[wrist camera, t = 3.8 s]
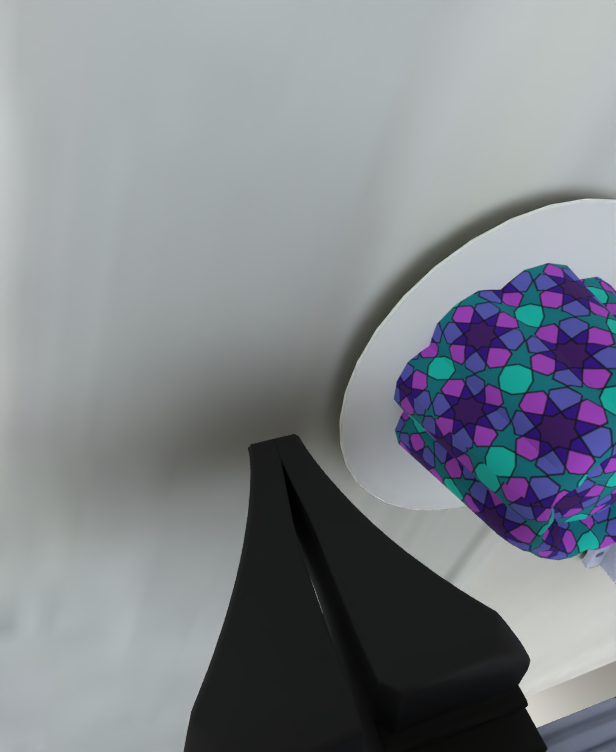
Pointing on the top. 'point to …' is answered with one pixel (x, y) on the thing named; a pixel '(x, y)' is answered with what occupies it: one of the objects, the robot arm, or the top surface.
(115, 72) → the top surface
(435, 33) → the top surface
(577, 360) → the pudding
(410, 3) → the top surface
